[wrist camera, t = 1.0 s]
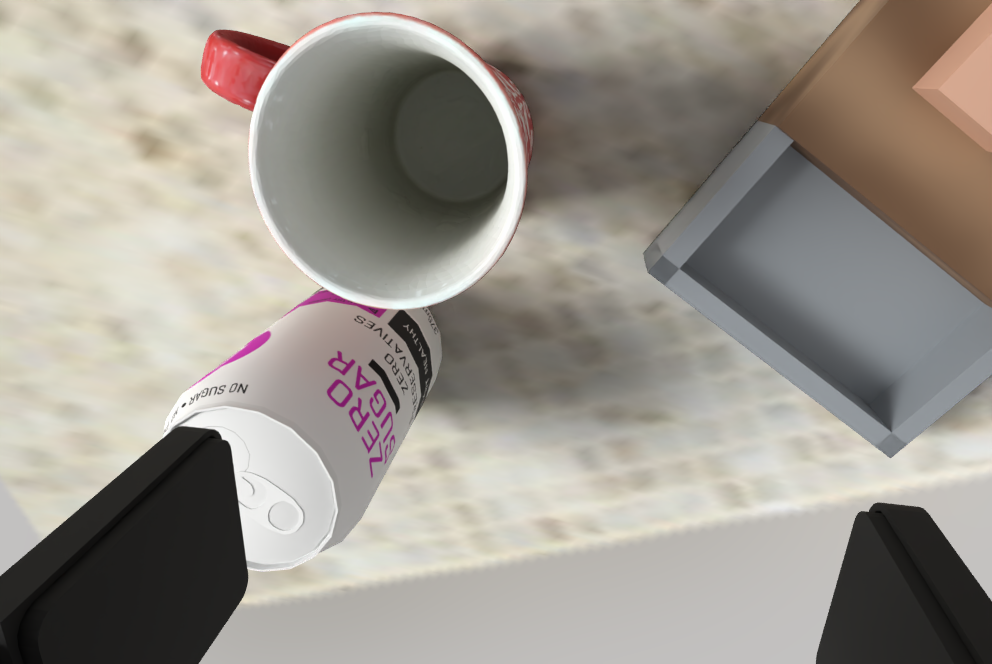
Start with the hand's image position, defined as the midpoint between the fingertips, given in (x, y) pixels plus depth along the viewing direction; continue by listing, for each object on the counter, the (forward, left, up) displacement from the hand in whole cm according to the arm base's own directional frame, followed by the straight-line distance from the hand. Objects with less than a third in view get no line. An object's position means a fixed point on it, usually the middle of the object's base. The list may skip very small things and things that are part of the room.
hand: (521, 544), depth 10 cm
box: (-4, +11, -26) cm, 28 cm away
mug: (+1, -9, -26) cm, 27 cm away
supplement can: (+13, -5, -26) cm, 29 cm away
